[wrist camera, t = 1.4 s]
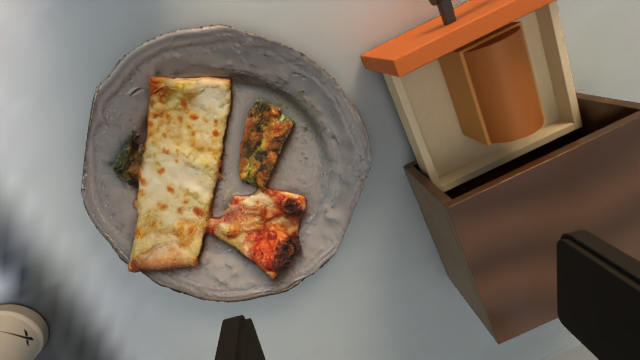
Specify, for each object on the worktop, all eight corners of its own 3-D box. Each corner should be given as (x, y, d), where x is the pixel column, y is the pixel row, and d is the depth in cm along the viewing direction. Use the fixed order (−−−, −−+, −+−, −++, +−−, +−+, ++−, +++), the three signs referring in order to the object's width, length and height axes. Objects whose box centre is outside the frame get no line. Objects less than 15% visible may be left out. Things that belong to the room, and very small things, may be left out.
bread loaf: (434, 50, 32) (469, 52, 26) (489, 23, 32) (536, 19, 26) (462, 134, 35) (499, 152, 29) (513, 110, 35) (560, 123, 29)
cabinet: (402, 166, 37) (446, 208, 28) (561, 90, 37) (662, 106, 27) (448, 277, 42) (498, 344, 33) (588, 212, 42) (681, 261, 32)
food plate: (308, 309, 42) (311, 332, 38) (78, 261, 37) (58, 283, 33) (395, 84, 35) (408, 88, 31) (123, -13, 30) (104, -19, 26)
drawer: (346, 22, 32) (374, 14, 23) (528, -70, 31) (632, -116, 22) (414, 189, 38) (458, 234, 29) (569, 114, 37) (664, 137, 28)
